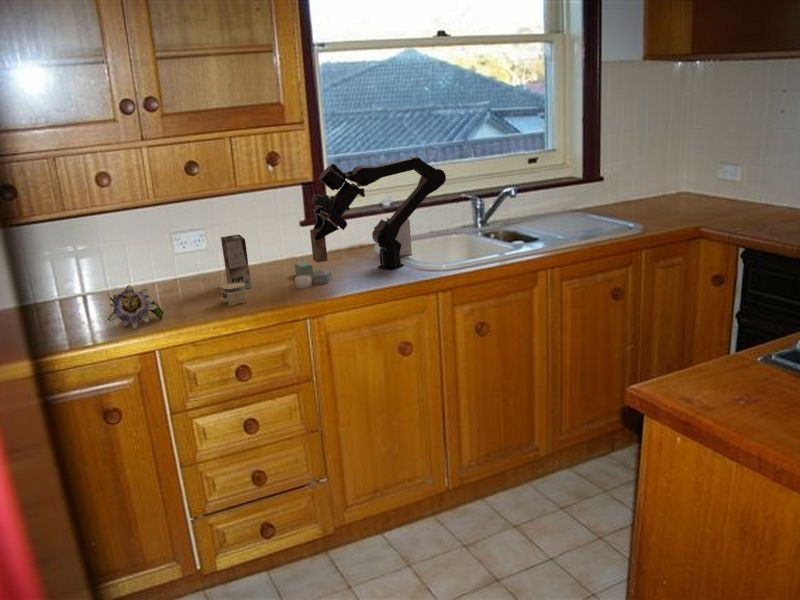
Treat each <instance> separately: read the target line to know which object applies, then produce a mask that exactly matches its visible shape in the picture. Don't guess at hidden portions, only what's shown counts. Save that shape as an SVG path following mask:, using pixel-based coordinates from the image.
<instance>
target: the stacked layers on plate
mask: <svg viewBox="0 0 800 600" xmlns="http://www.w3.org/2000/svg"><path fill="white" fill-rule="evenodd" d="M241 286H246V285H245V284H244V283H233V284H228V283H225V284H222V285H220V286H219V287H220V288H222V289H221V290H220V292H221V293H222V296H221V299H223V300H225V301H227V304H228V305H227V306H235V305H237V304H243V303H248V301H247V298H248V295H247V293H246V291H247V289H246V288H245V287H241Z"/></svg>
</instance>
